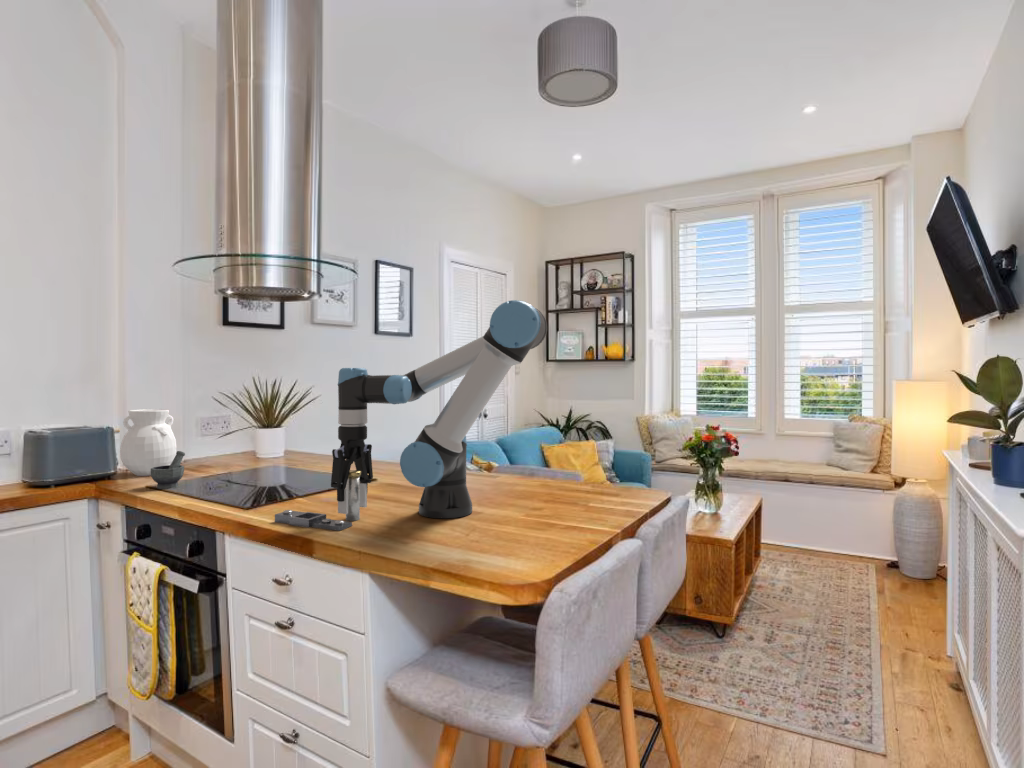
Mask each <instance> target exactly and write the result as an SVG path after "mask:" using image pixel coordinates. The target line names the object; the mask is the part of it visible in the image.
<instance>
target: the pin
mask: <svg viewBox="0 0 1024 768" xmlns="http://www.w3.org/2000/svg"><path fill="white" fill-rule="evenodd" d="M360 475H361V471H360V470H356V469H350V472H349V476H348V480H347V484H346V489H348V514H345V521H347V522H356V521H360V519H361V518H360V516H361V515H360V512H361V510H360V508H361V507H360V483H361V482H360Z"/></svg>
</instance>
